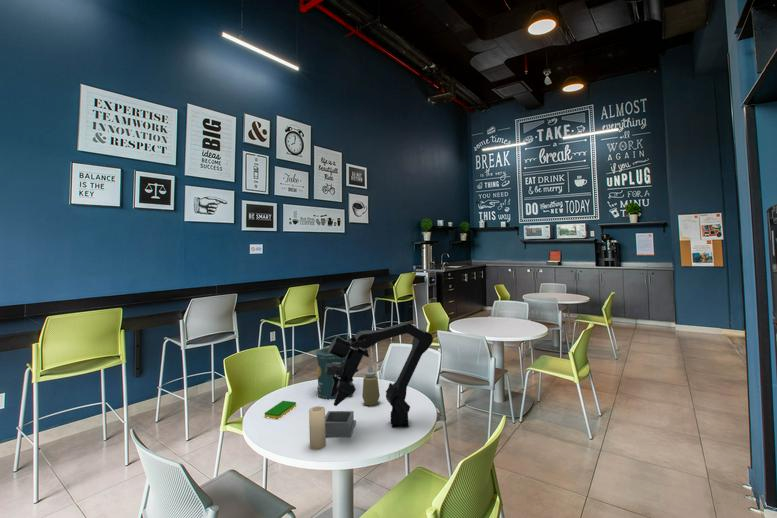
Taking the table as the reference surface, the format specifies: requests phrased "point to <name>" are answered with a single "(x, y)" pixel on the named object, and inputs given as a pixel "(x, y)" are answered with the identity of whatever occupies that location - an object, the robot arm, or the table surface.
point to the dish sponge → (280, 409)
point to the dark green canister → (325, 380)
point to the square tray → (339, 423)
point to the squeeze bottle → (370, 387)
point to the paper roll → (317, 427)
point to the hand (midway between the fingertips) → (333, 400)
